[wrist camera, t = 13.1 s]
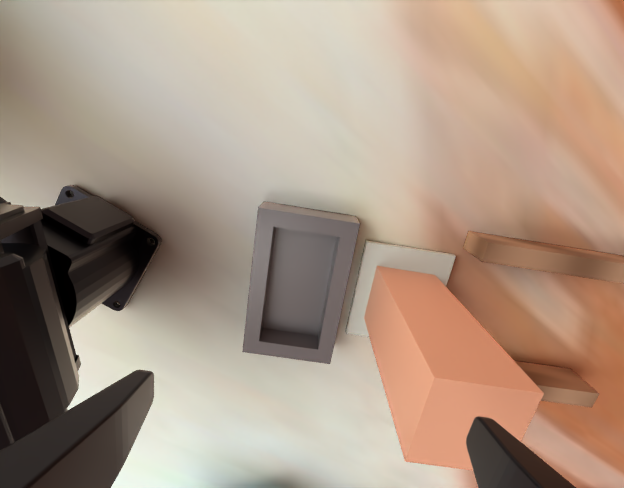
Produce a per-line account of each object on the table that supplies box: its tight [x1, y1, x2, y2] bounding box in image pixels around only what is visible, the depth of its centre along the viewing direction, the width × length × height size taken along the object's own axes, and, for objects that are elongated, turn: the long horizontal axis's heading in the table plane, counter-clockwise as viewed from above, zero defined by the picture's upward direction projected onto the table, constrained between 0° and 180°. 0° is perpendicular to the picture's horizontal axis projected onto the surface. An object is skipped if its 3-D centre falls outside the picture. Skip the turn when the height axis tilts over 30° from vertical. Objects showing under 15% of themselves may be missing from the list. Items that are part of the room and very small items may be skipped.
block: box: [364, 266, 544, 470], centre depth 17 cm, size 4×4×10 cm
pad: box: [346, 240, 456, 337], centre depth 22 cm, size 6×7×1 cm
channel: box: [463, 231, 624, 407], centre depth 21 cm, size 11×10×2 cm
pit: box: [243, 202, 360, 364], centre depth 21 cm, size 6×10×2 cm, turn 171°
